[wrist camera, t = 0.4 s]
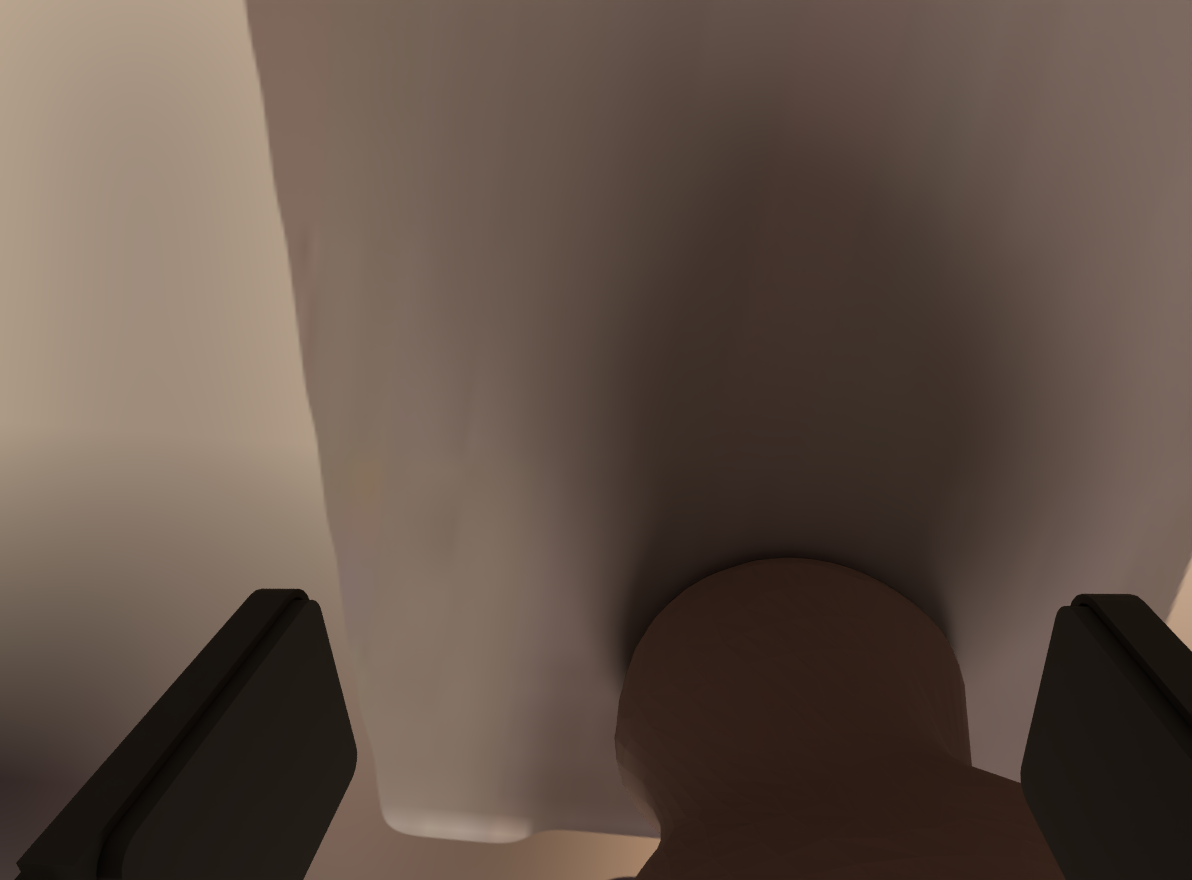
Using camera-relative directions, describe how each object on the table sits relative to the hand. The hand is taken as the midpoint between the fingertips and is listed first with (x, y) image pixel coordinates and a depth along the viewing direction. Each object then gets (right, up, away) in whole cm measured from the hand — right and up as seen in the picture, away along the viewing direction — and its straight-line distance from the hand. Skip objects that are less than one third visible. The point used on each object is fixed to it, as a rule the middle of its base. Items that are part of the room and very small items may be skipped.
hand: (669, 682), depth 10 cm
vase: (+14, -16, +45) cm, 50 cm away
